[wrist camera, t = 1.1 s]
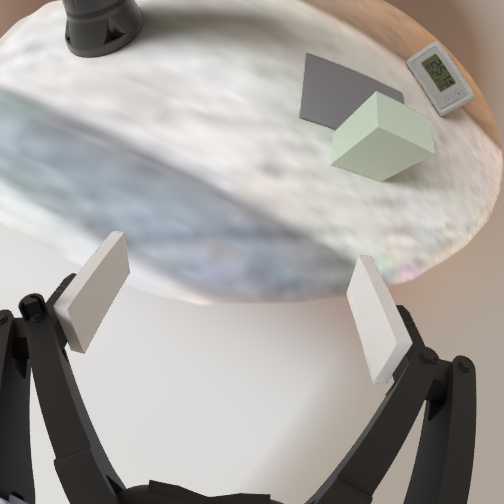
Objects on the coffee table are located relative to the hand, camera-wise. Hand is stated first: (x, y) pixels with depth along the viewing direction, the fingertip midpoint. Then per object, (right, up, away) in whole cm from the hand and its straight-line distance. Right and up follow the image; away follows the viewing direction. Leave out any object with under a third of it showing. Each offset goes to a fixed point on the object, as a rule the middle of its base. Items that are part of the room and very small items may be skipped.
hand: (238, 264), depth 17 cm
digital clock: (+42, +39, +39) cm, 69 cm away
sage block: (+18, +17, +31) cm, 40 cm away
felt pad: (+20, +28, +32) cm, 48 cm away
